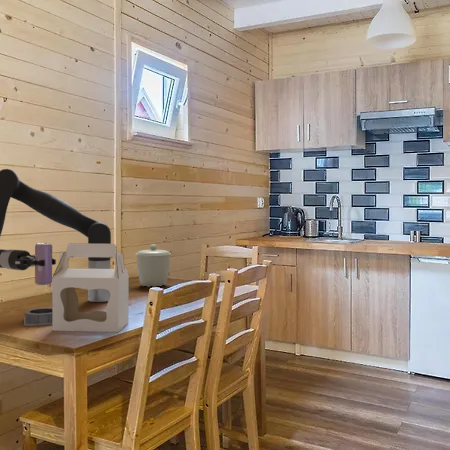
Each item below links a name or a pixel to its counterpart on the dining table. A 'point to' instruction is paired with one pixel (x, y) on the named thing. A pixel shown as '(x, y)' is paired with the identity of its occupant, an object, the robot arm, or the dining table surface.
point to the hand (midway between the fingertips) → (49, 262)
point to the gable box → (89, 279)
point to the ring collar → (38, 317)
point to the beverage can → (45, 272)
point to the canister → (153, 266)
